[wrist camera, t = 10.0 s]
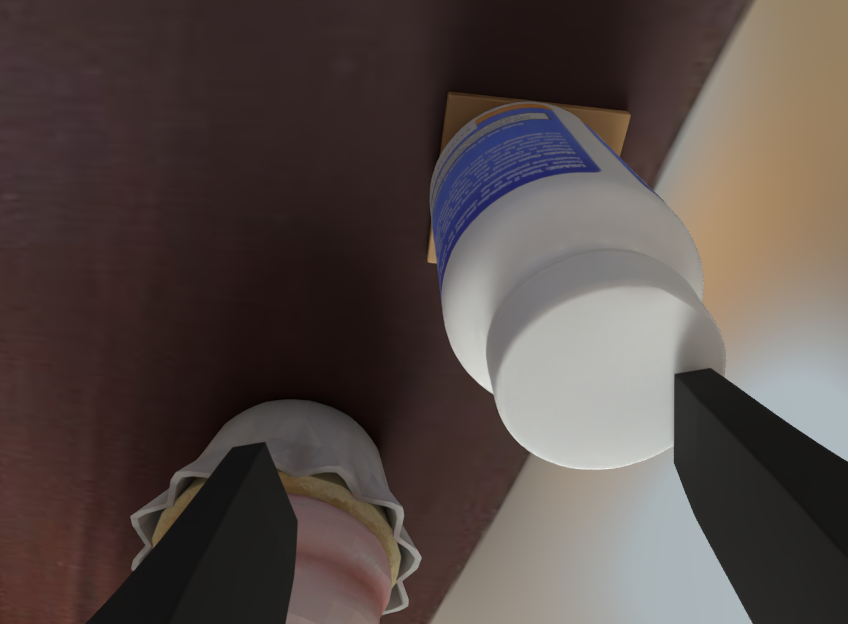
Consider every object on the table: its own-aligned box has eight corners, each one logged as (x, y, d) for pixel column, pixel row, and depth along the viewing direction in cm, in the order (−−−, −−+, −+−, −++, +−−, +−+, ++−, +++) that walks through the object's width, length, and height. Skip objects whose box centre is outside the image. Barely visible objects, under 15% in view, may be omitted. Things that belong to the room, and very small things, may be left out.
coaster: (585, 271, 22) (587, 277, 21) (426, 257, 21) (426, 263, 21) (627, 110, 19) (631, 114, 19) (447, 90, 19) (448, 94, 18)
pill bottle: (405, 243, 20) (406, 467, 12) (466, 69, 18) (520, 199, 9) (565, 290, 21) (668, 527, 13) (645, 132, 19) (837, 299, 10)
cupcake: (415, 353, 23) (421, 611, 14) (421, 537, 28) (429, 814, 19) (146, 361, 23) (-10, 627, 14) (198, 545, 28) (105, 826, 19)
